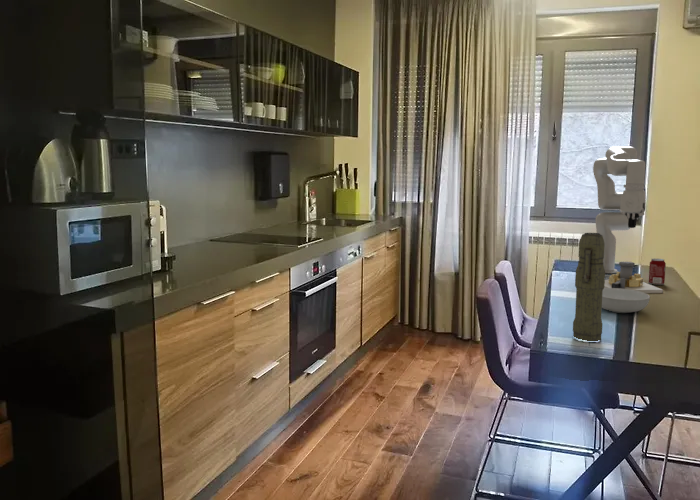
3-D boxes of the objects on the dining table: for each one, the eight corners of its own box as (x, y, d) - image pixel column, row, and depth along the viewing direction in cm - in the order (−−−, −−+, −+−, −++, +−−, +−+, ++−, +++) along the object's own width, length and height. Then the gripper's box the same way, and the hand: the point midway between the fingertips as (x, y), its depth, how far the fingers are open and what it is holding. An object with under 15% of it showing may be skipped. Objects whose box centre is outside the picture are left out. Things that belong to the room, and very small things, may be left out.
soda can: (662, 286, 275) (664, 261, 274) (647, 284, 279) (648, 259, 278) (665, 283, 281) (667, 259, 279) (649, 282, 285) (651, 257, 283)
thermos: (603, 336, 197) (608, 232, 192) (599, 345, 187) (605, 236, 182) (574, 332, 201) (579, 231, 196) (570, 342, 191) (575, 234, 186)
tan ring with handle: (614, 279, 282) (615, 270, 282) (645, 283, 274) (645, 273, 273) (598, 288, 264) (598, 278, 263) (630, 292, 255) (631, 281, 255)
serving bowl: (615, 319, 219) (616, 301, 218) (579, 306, 239) (580, 289, 238) (661, 314, 224) (662, 297, 223) (622, 302, 244) (623, 286, 243)
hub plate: (591, 282, 285) (592, 258, 283) (636, 282, 285) (637, 258, 283) (613, 293, 261) (614, 267, 259) (662, 293, 261) (664, 267, 259)
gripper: (614, 187, 273) (612, 226, 276) (644, 188, 260) (641, 230, 263) (625, 186, 277) (622, 225, 280) (655, 188, 264) (652, 228, 267)
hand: (631, 227), depth 272 cm, fingers closed
